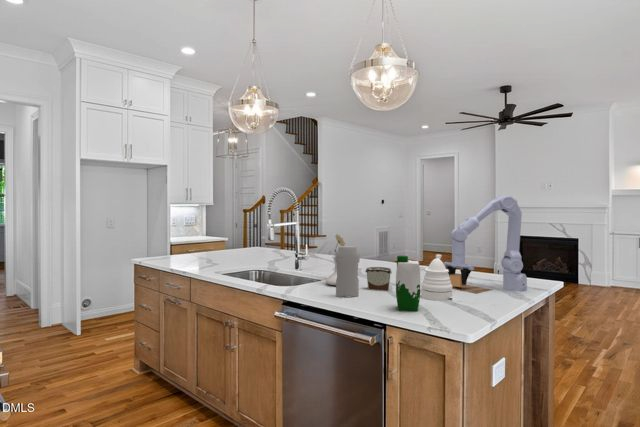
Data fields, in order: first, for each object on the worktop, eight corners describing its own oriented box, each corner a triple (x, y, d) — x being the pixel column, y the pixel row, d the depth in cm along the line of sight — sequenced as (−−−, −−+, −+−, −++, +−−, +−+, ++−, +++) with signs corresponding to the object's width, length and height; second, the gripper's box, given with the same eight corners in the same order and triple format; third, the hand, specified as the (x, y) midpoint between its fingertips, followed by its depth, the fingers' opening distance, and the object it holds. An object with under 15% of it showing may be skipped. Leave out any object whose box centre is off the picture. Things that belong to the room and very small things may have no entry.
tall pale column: (335, 297, 170) (335, 246, 170) (334, 295, 175) (334, 245, 174) (360, 297, 171) (360, 245, 171) (358, 295, 175) (358, 244, 175)
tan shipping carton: (466, 285, 185) (466, 275, 185) (459, 287, 182) (460, 276, 182) (456, 283, 189) (456, 273, 189) (449, 285, 186) (449, 274, 186)
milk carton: (395, 305, 158) (396, 254, 158) (419, 306, 157) (419, 255, 156) (395, 311, 150) (396, 257, 149) (420, 312, 148) (421, 258, 148)
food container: (393, 288, 189) (393, 267, 189) (391, 291, 183) (391, 269, 183) (367, 286, 193) (368, 266, 193) (365, 289, 187) (365, 268, 187)
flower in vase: (349, 287, 192) (349, 235, 191) (325, 287, 192) (325, 234, 191) (347, 281, 205) (348, 233, 204) (325, 281, 205) (325, 232, 204)
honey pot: (427, 292, 181) (427, 252, 181) (456, 296, 174) (456, 254, 174) (416, 297, 171) (417, 255, 170) (446, 302, 163) (447, 258, 163)
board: (493, 292, 182) (493, 289, 182) (476, 296, 173) (476, 293, 173) (462, 286, 195) (462, 283, 195) (444, 290, 186) (444, 287, 186)
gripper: (439, 253, 189) (439, 282, 189) (467, 256, 177) (467, 287, 177) (448, 252, 193) (448, 280, 193) (476, 255, 181) (476, 285, 182)
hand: (458, 283), depth 186 cm, fingers closed on tan shipping carton, 5 cm apart
